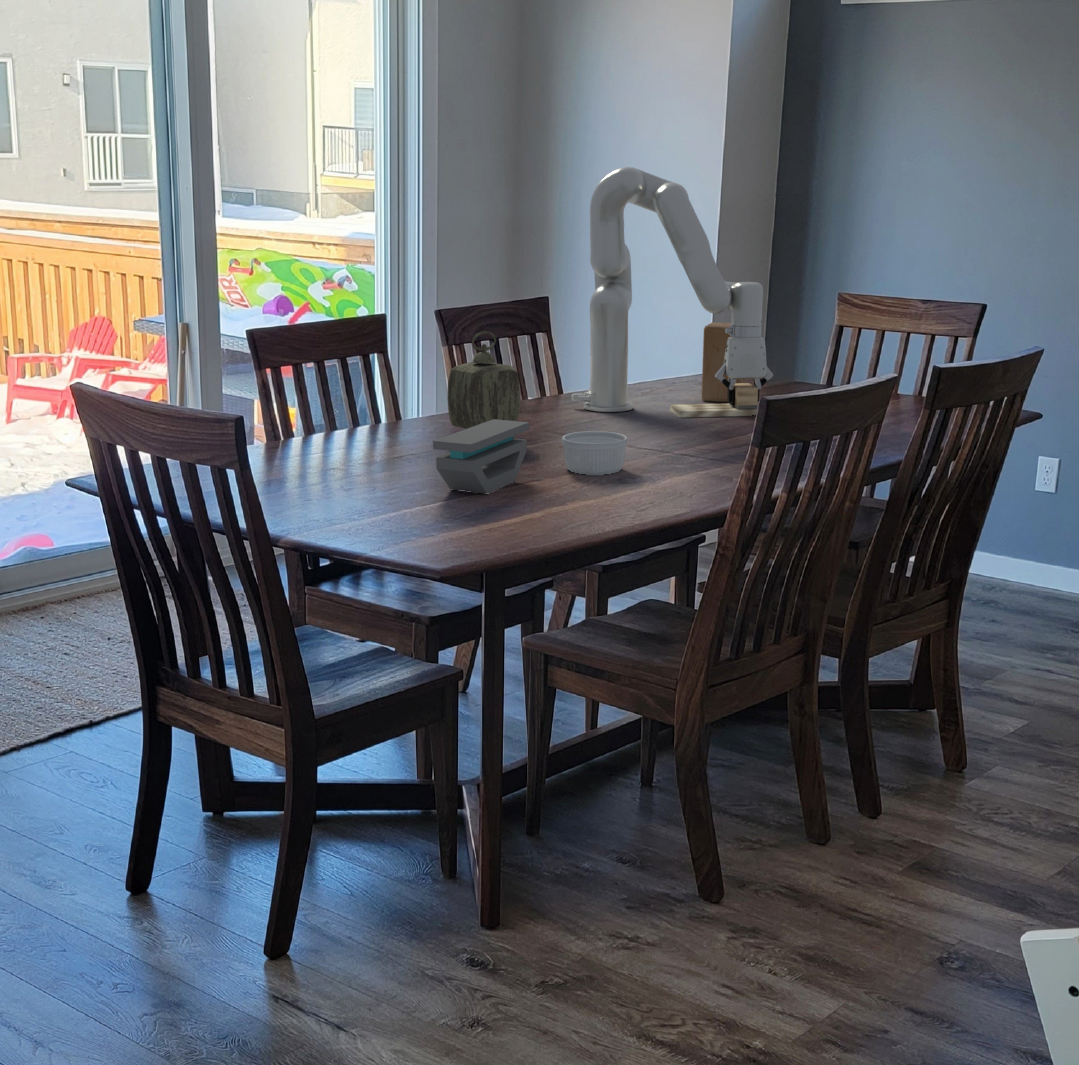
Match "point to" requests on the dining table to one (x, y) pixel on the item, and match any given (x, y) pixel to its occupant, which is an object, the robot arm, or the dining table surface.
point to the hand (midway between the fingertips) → (743, 403)
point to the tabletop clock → (483, 390)
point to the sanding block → (745, 396)
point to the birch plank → (710, 410)
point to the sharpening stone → (482, 456)
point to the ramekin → (594, 452)
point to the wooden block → (714, 362)
